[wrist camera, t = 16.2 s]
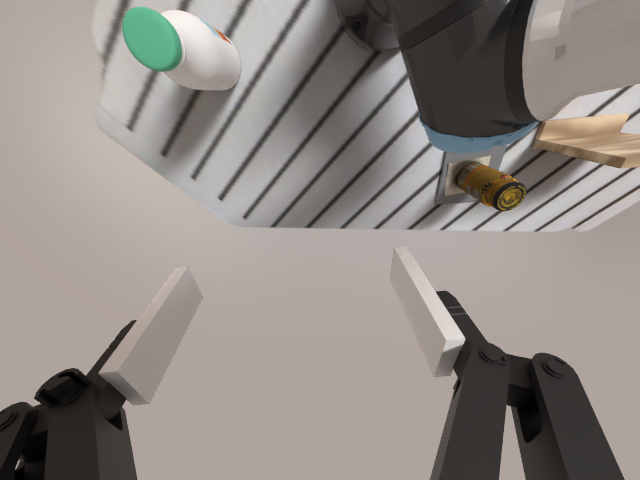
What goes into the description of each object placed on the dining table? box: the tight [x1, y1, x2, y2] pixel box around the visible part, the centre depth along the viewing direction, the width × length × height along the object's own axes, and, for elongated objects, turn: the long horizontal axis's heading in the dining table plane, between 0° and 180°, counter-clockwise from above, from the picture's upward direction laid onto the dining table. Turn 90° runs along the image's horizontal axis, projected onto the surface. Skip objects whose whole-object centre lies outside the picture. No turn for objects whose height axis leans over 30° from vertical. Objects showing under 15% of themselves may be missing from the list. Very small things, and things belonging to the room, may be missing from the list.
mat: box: [435, 145, 507, 204], centre depth 50 cm, size 12×12×1 cm
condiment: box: [445, 156, 526, 211], centre depth 45 cm, size 7×8×12 cm
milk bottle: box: [122, 7, 241, 90], centre depth 30 cm, size 8×8×20 cm
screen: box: [532, 113, 640, 168], centre depth 40 cm, size 5×16×16 cm, turn 94°
